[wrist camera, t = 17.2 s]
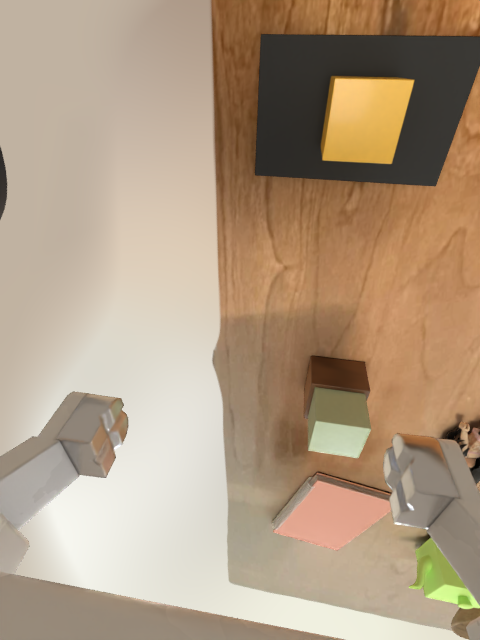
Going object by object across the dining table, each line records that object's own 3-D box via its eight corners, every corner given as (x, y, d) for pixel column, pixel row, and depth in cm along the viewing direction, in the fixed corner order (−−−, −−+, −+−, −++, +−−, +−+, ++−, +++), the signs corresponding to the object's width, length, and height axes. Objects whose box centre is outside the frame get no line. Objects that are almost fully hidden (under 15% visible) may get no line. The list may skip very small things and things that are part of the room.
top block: (320, 147, 29) (322, 160, 25) (330, 75, 26) (334, 77, 22) (380, 150, 28) (391, 164, 24) (398, 77, 25) (414, 79, 21)
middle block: (307, 416, 44) (307, 450, 40) (314, 386, 41) (315, 420, 37) (353, 423, 44) (358, 458, 40) (365, 393, 40) (371, 429, 36)
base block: (304, 390, 49) (303, 418, 45) (311, 355, 44) (311, 383, 40) (352, 396, 48) (356, 426, 44) (364, 362, 43) (370, 391, 40)
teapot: (397, 533, 71) (409, 595, 62) (463, 522, 64) (486, 590, 55) (433, 560, 76) (448, 621, 68) (497, 553, 69) (523, 620, 61)
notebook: (311, 469, 61) (311, 480, 60) (398, 494, 61) (400, 505, 60) (269, 522, 78) (268, 532, 77) (336, 542, 78) (337, 552, 77)
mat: (256, 173, 32) (254, 175, 31) (261, 35, 25) (260, 34, 25) (433, 183, 30) (435, 186, 29) (485, 37, 24) (490, 36, 23)
